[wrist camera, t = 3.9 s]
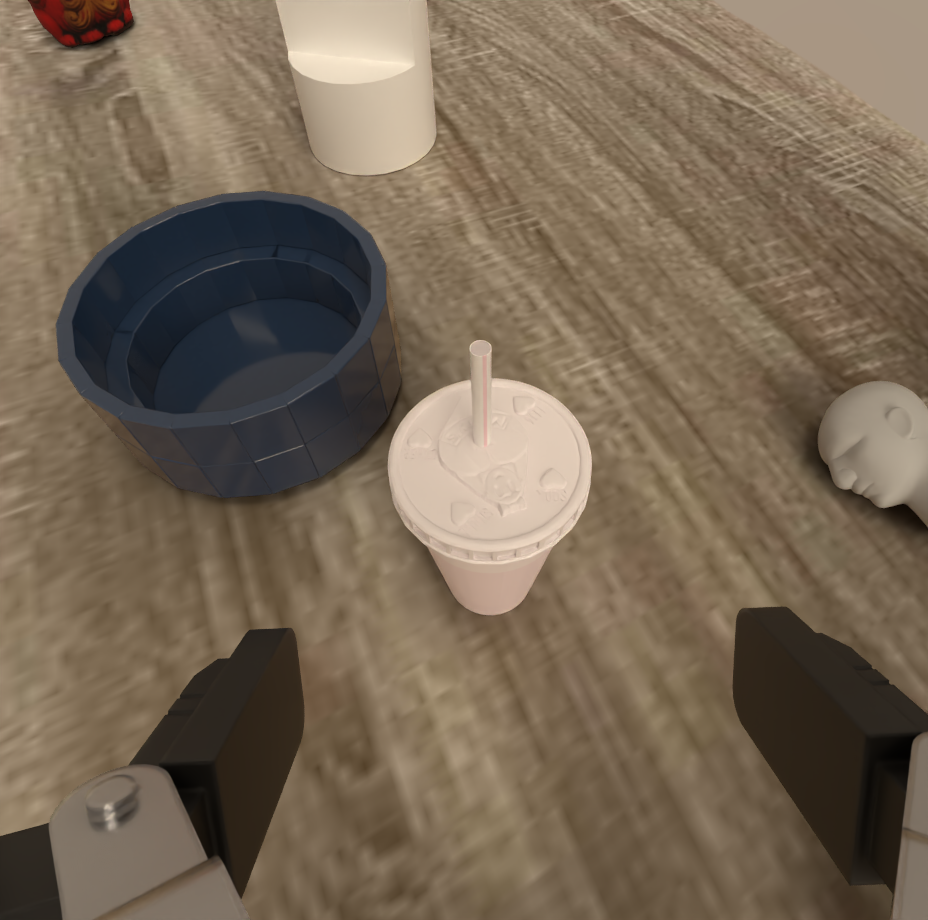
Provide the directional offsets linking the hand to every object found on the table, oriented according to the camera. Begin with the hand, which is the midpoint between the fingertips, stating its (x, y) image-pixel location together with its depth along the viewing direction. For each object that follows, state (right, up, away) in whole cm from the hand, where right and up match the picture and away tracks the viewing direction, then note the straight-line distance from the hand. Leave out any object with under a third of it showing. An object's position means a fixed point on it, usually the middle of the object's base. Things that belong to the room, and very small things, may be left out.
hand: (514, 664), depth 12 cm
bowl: (-11, +8, +22) cm, 26 cm away
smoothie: (0, -1, +16) cm, 17 cm away
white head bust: (+18, +2, +18) cm, 26 cm away
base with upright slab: (-7, +27, +34) cm, 44 cm away
